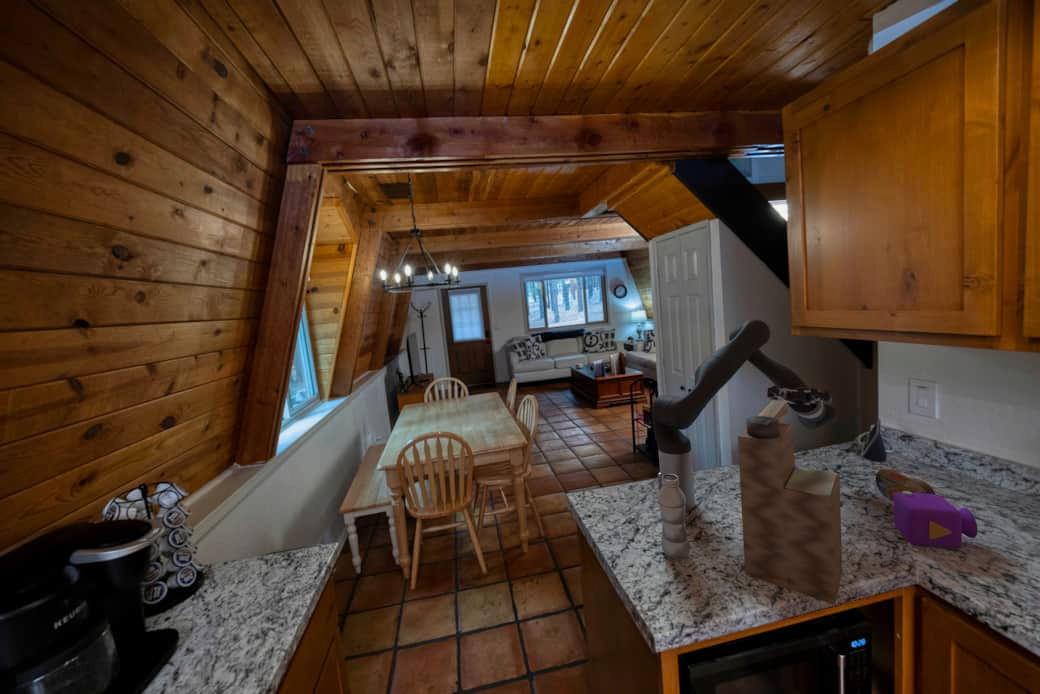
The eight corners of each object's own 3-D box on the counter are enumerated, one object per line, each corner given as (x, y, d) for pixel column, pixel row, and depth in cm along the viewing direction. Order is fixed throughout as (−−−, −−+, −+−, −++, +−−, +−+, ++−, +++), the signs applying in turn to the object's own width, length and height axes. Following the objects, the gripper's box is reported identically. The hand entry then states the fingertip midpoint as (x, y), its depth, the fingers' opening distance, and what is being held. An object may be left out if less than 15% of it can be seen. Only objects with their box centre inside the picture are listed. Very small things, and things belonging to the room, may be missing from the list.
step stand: (745, 574, 91) (737, 436, 87) (758, 547, 100) (752, 420, 96) (835, 605, 80) (830, 448, 76) (842, 571, 89) (838, 429, 85)
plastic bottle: (676, 567, 96) (670, 486, 94) (656, 552, 102) (650, 475, 100) (696, 557, 98) (691, 478, 96) (675, 543, 104) (670, 469, 102)
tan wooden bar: (743, 436, 87) (742, 422, 87) (766, 411, 102) (765, 399, 101) (776, 440, 83) (775, 426, 83) (794, 413, 97) (794, 401, 97)
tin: (874, 492, 118) (874, 464, 117) (885, 490, 118) (885, 463, 117) (927, 519, 103) (927, 487, 102) (939, 517, 103) (939, 486, 102)
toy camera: (991, 553, 89) (991, 510, 88) (917, 552, 92) (917, 510, 91) (950, 526, 100) (950, 487, 99) (885, 525, 103) (884, 487, 101)
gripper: (778, 389, 125) (763, 374, 114) (837, 392, 114) (826, 377, 104) (776, 413, 123) (761, 401, 112) (835, 419, 113) (825, 406, 102)
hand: (792, 389), depth 108 cm, fingers open, 8 cm apart
